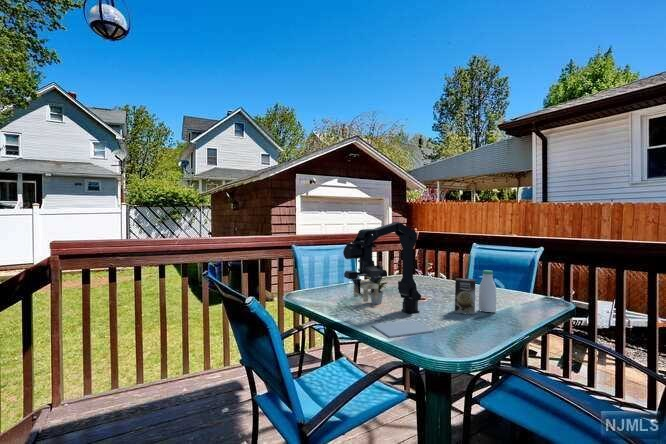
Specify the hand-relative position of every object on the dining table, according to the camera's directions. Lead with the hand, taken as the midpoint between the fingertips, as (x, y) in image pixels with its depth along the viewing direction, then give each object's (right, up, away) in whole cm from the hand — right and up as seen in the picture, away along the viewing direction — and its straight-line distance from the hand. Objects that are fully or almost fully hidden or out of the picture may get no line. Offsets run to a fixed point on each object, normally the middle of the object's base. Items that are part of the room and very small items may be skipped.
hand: (365, 293), depth 150 cm
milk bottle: (+61, -12, +16) cm, 64 cm away
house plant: (+8, -12, +30) cm, 33 cm away
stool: (0, -2, 0) cm, 2 cm away
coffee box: (+49, -12, +14) cm, 52 cm away
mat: (+14, -12, -11) cm, 22 cm away
